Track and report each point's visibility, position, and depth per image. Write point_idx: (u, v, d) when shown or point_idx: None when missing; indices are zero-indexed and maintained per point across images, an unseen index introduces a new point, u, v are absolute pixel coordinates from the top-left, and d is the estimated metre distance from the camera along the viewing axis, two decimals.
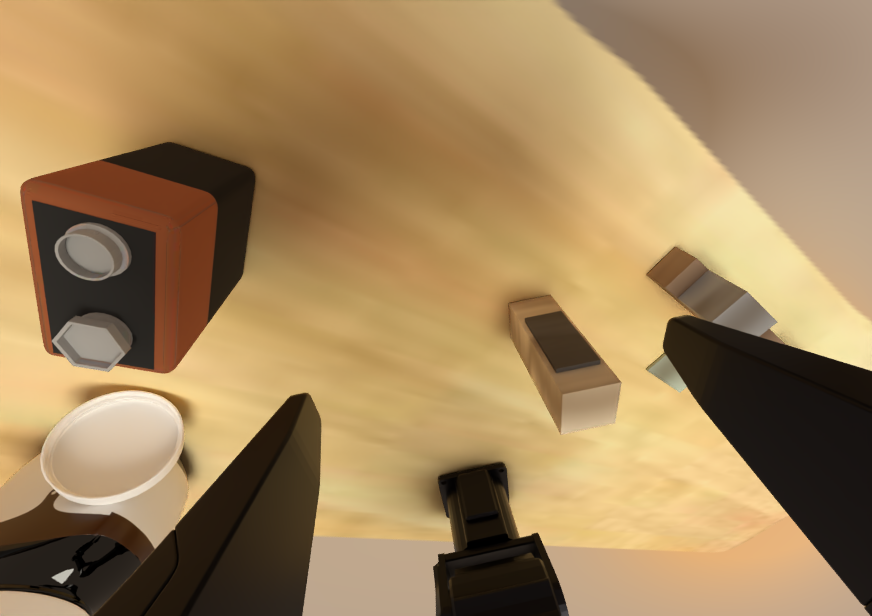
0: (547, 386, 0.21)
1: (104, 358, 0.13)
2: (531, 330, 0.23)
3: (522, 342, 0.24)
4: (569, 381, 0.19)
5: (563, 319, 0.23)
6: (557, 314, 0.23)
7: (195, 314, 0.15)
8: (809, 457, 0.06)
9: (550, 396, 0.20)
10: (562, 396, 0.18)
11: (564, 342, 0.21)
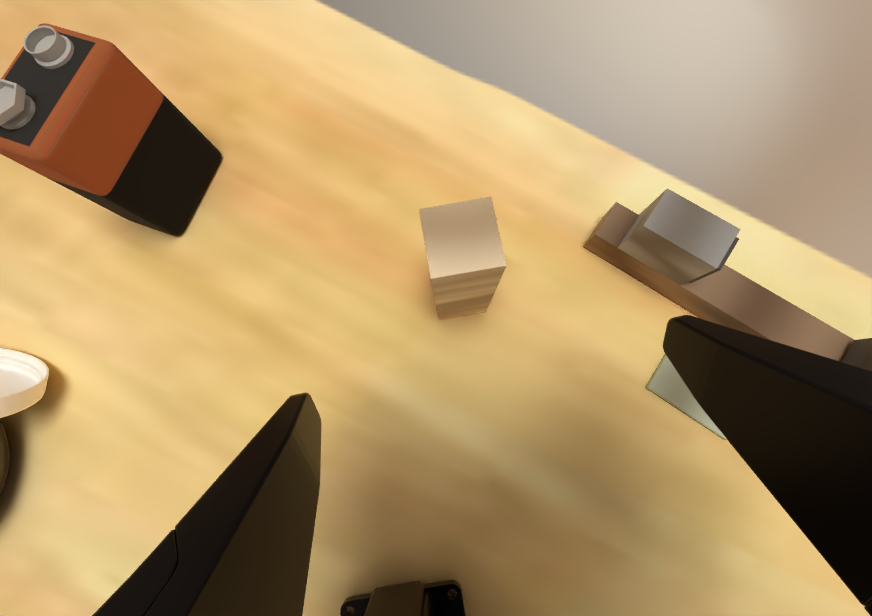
0: None
1: None
2: None
3: None
4: None
5: None
6: None
7: (98, 146, 0.19)
8: (809, 457, 0.06)
9: None
10: None
11: None
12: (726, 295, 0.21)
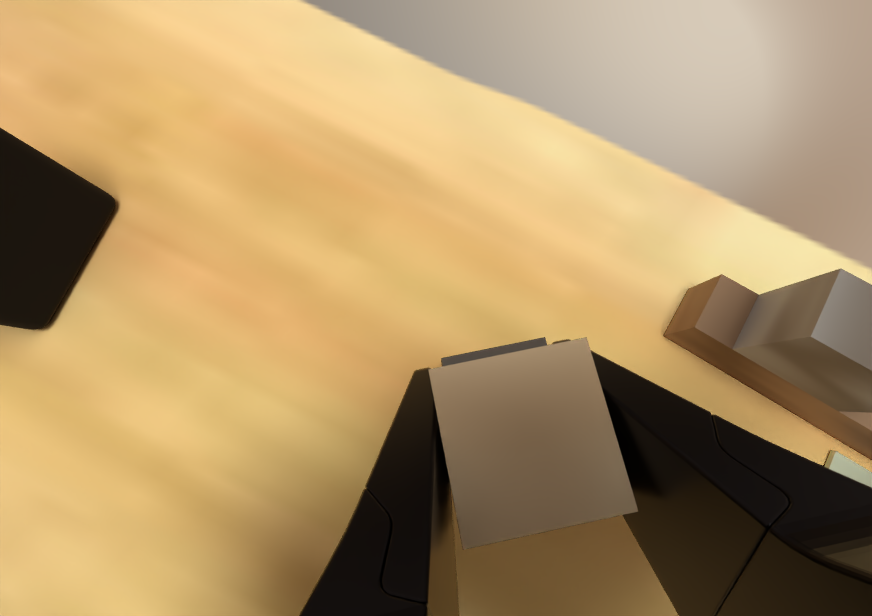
0: None
1: None
2: None
3: None
4: None
5: None
6: None
7: None
8: (646, 493, 0.06)
9: None
10: (430, 379, 0.07)
11: None
12: None
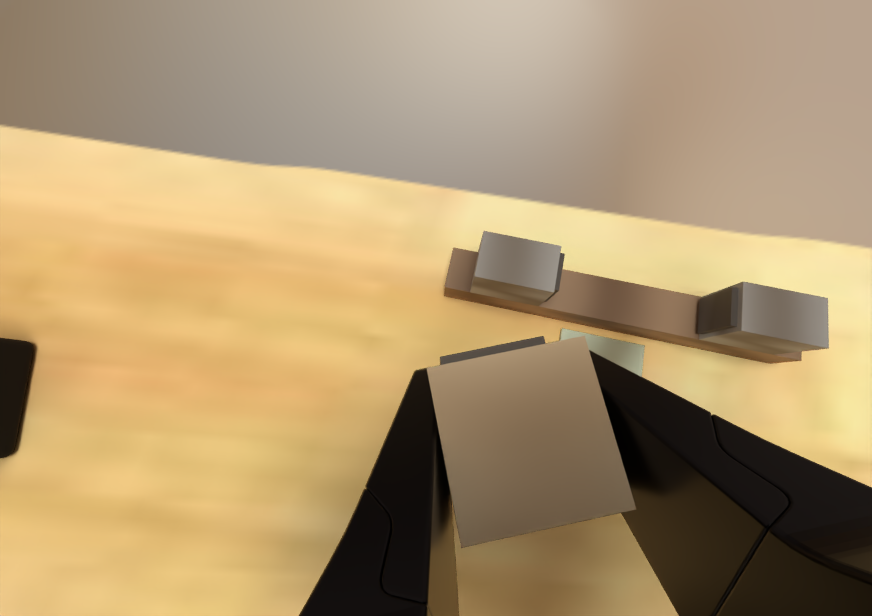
0: None
1: None
2: None
3: None
4: None
5: None
6: None
7: None
8: (646, 493, 0.06)
9: None
10: None
11: None
12: (581, 299, 0.21)
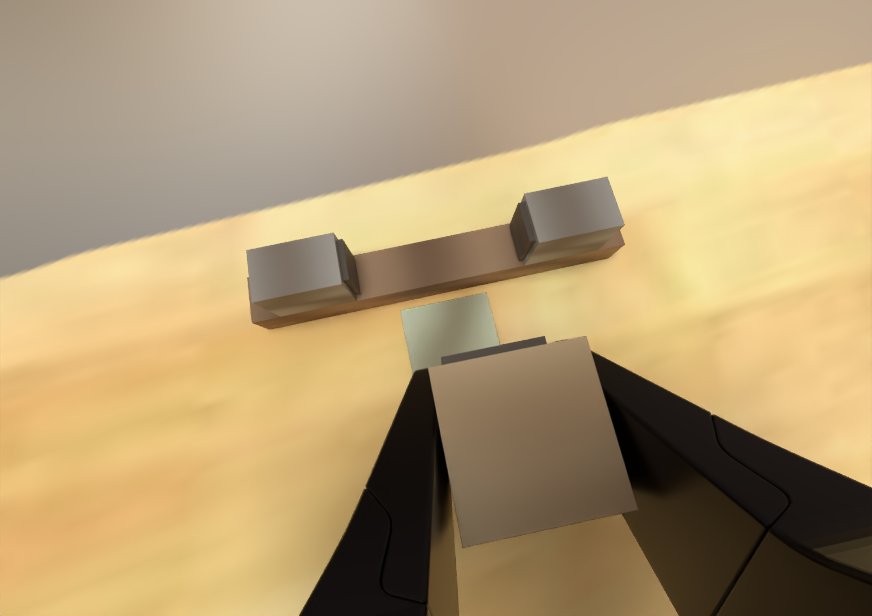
0: None
1: None
2: None
3: None
4: None
5: None
6: None
7: None
8: (646, 493, 0.06)
9: None
10: (430, 378, 0.07)
11: None
12: (397, 274, 0.20)
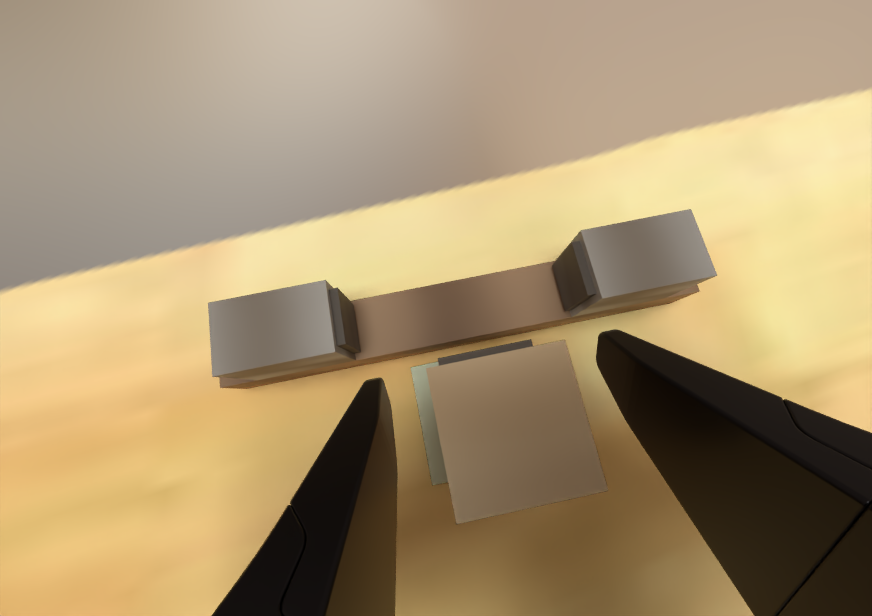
0: None
1: None
2: None
3: None
4: None
5: None
6: None
7: None
8: (712, 478, 0.06)
9: None
10: None
11: None
12: (408, 326, 0.15)
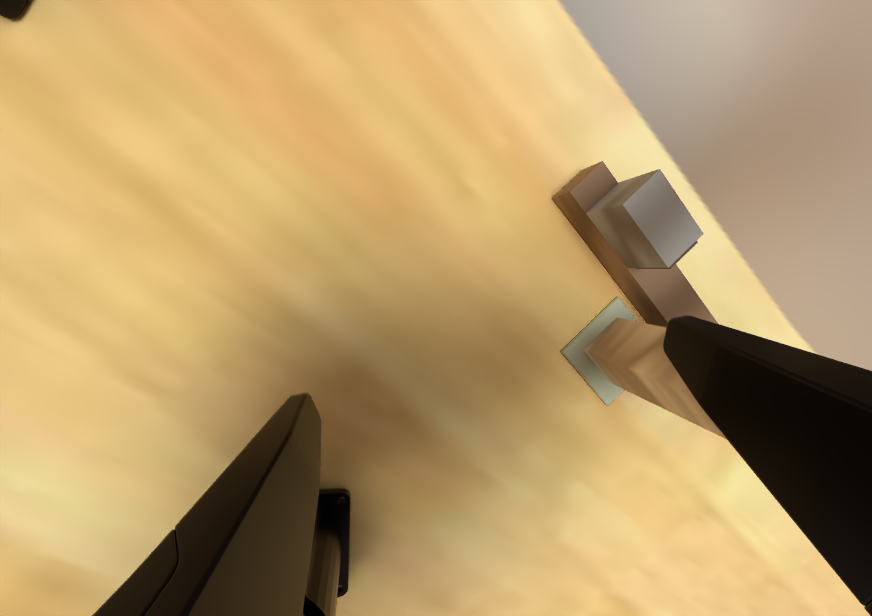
0: None
1: None
2: None
3: (633, 341, 0.21)
4: None
5: None
6: None
7: None
8: (809, 457, 0.06)
9: None
10: None
11: None
12: (660, 286, 0.22)
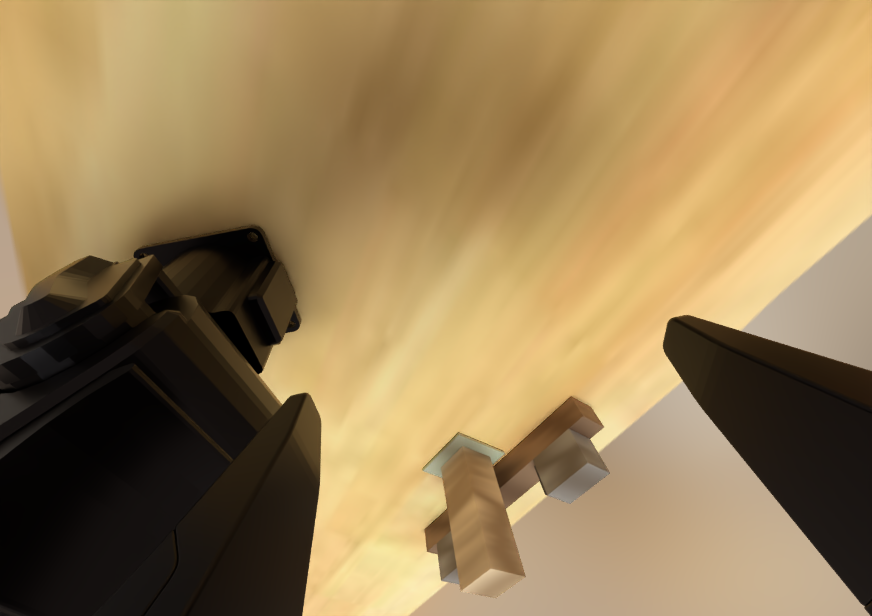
0: (502, 541, 0.25)
1: None
2: None
3: (486, 483, 0.28)
4: None
5: None
6: None
7: None
8: (809, 457, 0.06)
9: (500, 547, 0.24)
10: (523, 575, 0.24)
11: None
12: (521, 479, 0.31)
